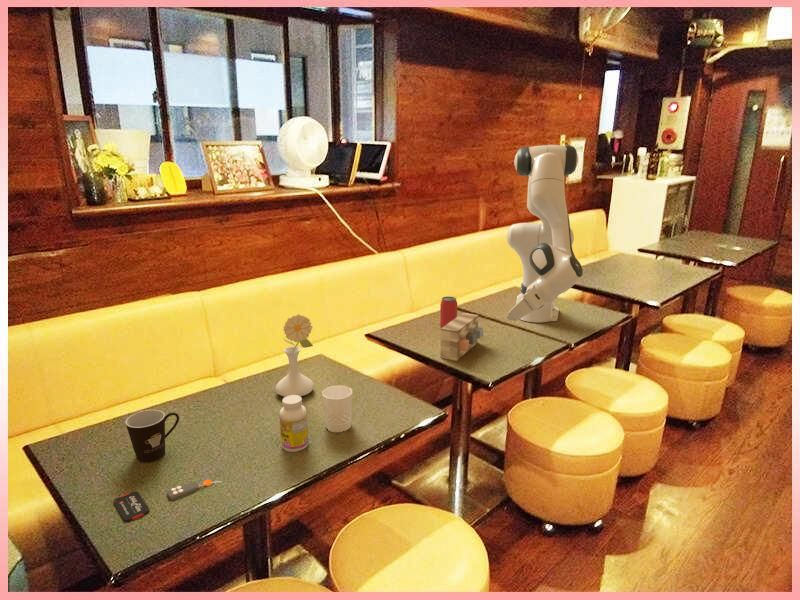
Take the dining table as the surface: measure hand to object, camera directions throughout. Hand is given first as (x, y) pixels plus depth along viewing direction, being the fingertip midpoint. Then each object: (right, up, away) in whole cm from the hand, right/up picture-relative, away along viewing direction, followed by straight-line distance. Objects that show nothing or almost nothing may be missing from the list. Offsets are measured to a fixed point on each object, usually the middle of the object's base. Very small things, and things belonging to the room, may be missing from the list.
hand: (509, 317), depth 193 cm
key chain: (-82, -36, -69) cm, 113 cm away
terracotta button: (-16, -10, -3) cm, 20 cm away
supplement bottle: (-64, -30, -53) cm, 88 cm away
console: (-17, -11, +6) cm, 21 cm away
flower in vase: (-68, -22, -26) cm, 76 cm away
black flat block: (-94, -38, -75) cm, 126 cm away
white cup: (-54, -27, -44) cm, 75 cm away
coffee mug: (-97, -31, -56) cm, 116 cm away
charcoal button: (-13, -9, +3) cm, 16 cm away
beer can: (-19, -5, +28) cm, 34 cm away
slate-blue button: (-10, -7, +8) cm, 15 cm away
